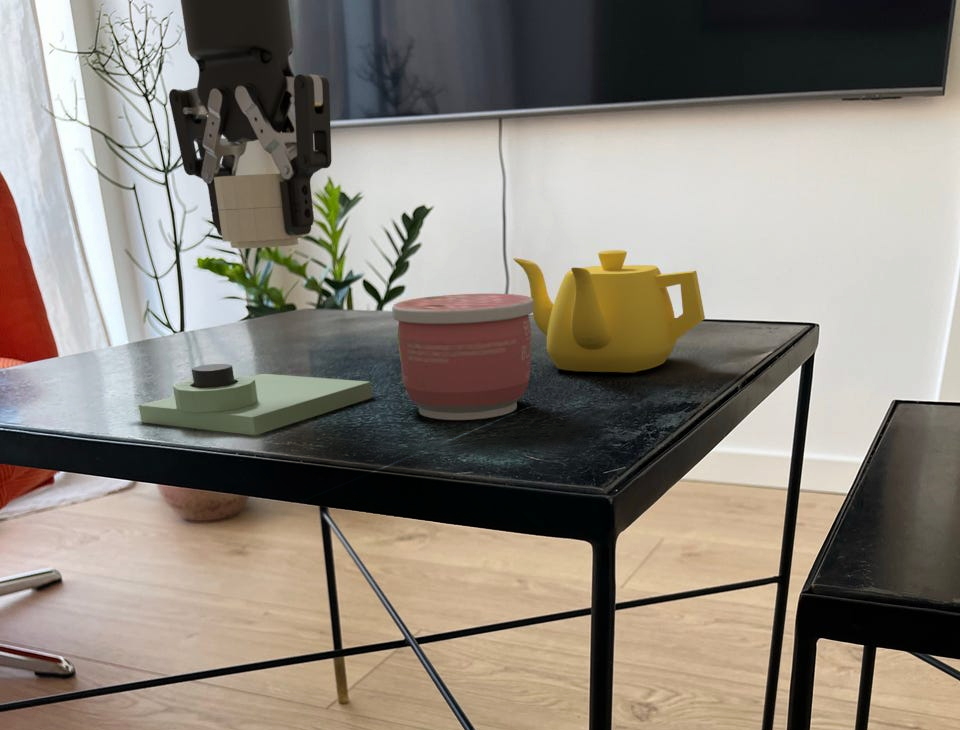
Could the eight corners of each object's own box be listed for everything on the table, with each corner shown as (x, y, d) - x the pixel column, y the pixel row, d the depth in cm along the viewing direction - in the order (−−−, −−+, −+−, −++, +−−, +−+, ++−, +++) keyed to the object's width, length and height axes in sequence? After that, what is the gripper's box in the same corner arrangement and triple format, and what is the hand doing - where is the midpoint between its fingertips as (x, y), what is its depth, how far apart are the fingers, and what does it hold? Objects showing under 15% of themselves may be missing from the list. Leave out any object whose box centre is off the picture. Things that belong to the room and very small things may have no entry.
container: (457, 391, 85) (452, 291, 82) (562, 403, 79) (561, 295, 76) (371, 416, 78) (362, 307, 74) (480, 431, 72) (475, 313, 68)
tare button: (215, 393, 75) (211, 371, 74) (186, 390, 77) (182, 369, 76) (243, 385, 77) (240, 364, 77) (215, 383, 79) (212, 362, 78)
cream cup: (268, 248, 75) (259, 174, 73) (206, 249, 78) (195, 177, 76) (323, 242, 80) (316, 172, 78) (263, 242, 83) (254, 175, 81)
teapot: (514, 363, 97) (511, 252, 93) (640, 349, 101) (642, 242, 96) (575, 386, 85) (574, 260, 81) (715, 370, 89) (720, 249, 85)
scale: (251, 437, 73) (245, 395, 72) (137, 424, 79) (129, 385, 78) (372, 398, 84) (369, 361, 83) (264, 389, 90) (259, 354, 89)
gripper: (121, -11, 72) (162, 240, 79) (272, -41, 65) (303, 237, 72) (198, 0, 78) (231, 233, 85) (345, -27, 71) (367, 230, 78)
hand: (264, 234), depth 78 cm, fingers closed on cream cup, 6 cm apart
